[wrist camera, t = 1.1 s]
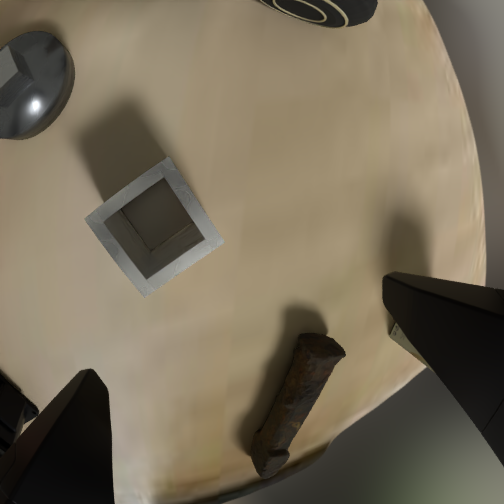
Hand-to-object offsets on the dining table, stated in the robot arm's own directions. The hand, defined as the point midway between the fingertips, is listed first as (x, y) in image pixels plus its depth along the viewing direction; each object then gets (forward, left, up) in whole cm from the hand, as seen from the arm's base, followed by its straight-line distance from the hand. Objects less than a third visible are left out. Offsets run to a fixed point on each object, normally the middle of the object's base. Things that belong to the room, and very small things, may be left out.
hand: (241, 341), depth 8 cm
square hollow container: (-1, +3, -12) cm, 13 cm away
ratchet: (-10, +16, -12) cm, 22 cm away
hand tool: (-3, -20, -13) cm, 24 cm away
